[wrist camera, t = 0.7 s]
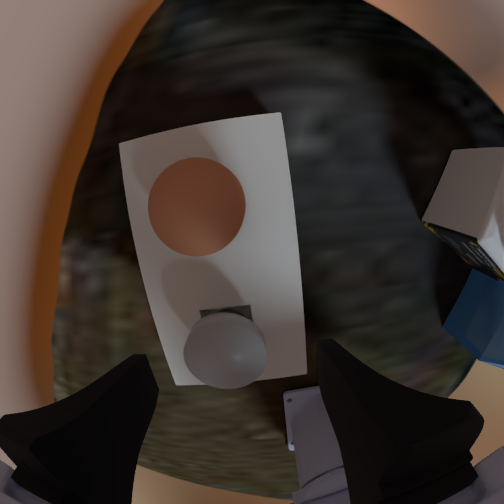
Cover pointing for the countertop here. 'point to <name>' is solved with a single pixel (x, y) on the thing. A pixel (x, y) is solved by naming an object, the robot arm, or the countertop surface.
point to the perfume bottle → (480, 318)
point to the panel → (235, 253)
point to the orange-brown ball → (196, 206)
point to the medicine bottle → (471, 207)
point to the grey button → (225, 350)
